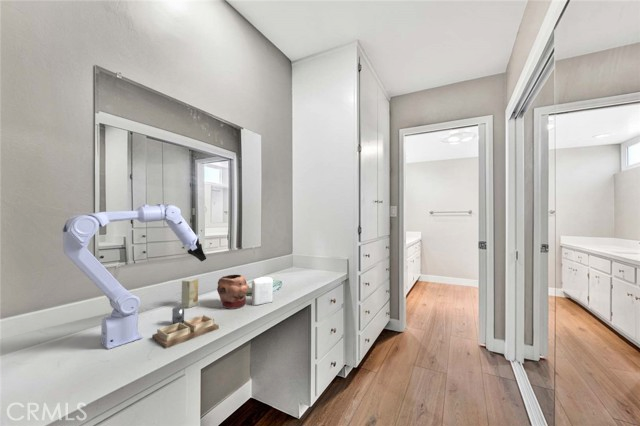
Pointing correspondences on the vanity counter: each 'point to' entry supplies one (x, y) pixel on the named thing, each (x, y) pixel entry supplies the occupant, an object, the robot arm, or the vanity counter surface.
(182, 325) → the socket board
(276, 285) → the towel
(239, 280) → the decorative planter
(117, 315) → the robot arm
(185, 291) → the skincare box
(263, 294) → the photo printer
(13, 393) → the vanity counter surface
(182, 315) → the grey metal peg
